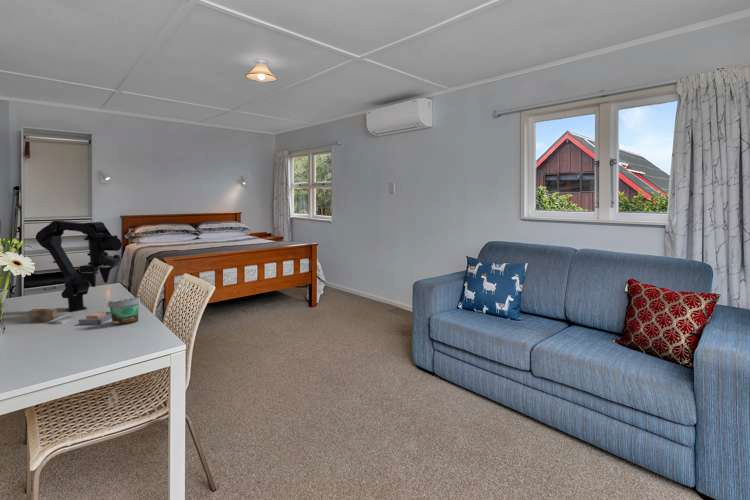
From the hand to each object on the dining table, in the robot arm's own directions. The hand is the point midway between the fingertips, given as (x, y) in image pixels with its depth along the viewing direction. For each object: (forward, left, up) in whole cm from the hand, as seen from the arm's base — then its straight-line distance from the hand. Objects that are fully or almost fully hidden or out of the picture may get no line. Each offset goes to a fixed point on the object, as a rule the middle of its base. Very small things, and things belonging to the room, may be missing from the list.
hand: (99, 284), depth 187 cm
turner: (0, -19, -12) cm, 23 cm away
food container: (+29, -1, -12) cm, 32 cm away
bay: (+15, -7, -12) cm, 20 cm away
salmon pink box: (+15, -8, -12) cm, 21 cm away
